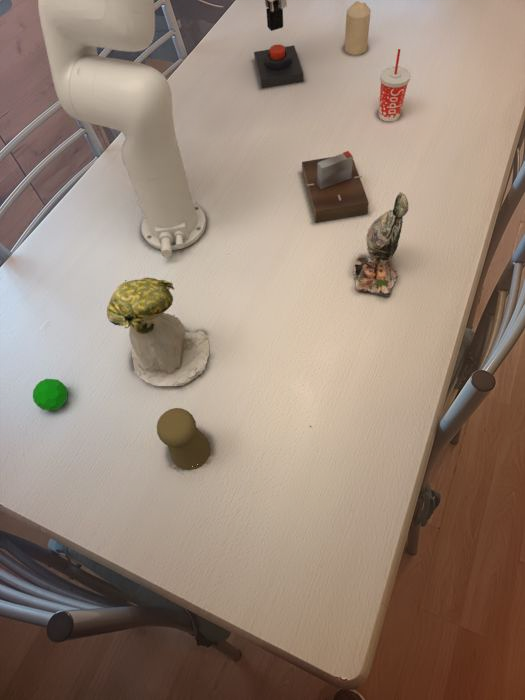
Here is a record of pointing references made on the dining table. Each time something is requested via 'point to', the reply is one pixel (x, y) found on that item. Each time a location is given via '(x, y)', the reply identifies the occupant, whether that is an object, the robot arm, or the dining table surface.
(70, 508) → the dining table surface
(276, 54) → the button
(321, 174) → the grey flat block
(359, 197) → the dial knob base
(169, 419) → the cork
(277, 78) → the button box
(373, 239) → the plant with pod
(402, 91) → the beverage cup
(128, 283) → the mushroom figurine
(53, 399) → the polyhedron
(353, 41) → the candle
